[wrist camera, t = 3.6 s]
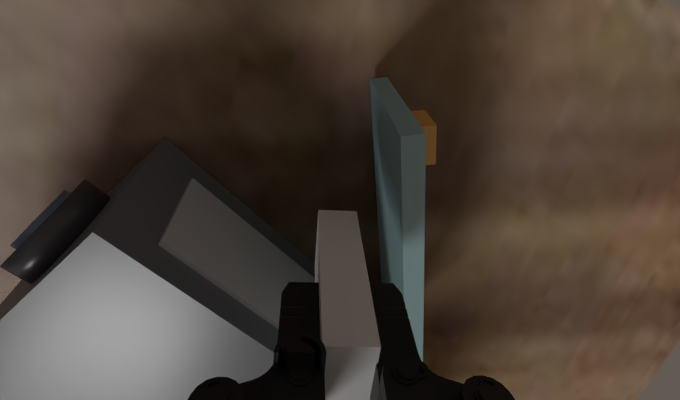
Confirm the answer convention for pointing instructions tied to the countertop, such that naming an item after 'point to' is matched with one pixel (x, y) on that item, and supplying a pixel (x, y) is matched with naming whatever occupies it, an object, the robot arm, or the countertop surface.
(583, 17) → the countertop surface
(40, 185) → the countertop surface
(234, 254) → the box
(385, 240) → the side door
